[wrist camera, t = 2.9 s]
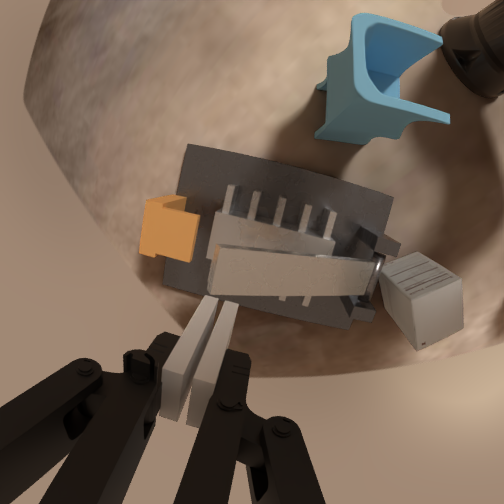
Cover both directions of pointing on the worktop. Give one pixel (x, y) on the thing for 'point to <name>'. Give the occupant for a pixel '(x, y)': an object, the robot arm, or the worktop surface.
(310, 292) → the strap
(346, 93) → the vase
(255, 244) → the heatsink
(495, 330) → the worktop surface
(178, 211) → the lug slider
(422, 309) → the supplement box
